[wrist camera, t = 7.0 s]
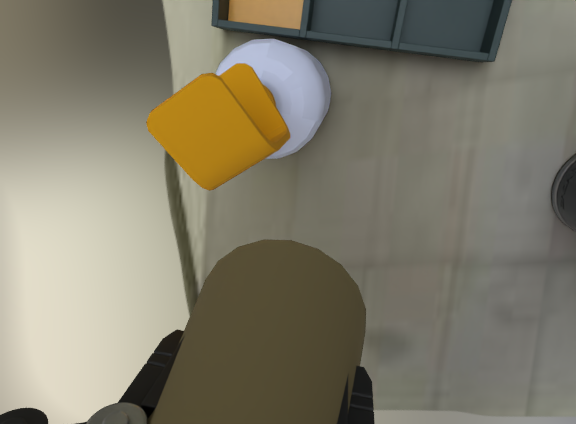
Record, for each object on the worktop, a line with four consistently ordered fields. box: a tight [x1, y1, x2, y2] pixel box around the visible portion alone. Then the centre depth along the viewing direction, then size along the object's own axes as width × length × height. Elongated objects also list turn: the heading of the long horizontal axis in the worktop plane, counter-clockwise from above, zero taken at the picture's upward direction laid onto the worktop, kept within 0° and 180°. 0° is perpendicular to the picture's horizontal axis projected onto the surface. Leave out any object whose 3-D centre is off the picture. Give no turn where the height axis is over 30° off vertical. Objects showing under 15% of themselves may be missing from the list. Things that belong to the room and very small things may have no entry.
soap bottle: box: [146, 39, 331, 190], centre depth 29 cm, size 9×9×25 cm
